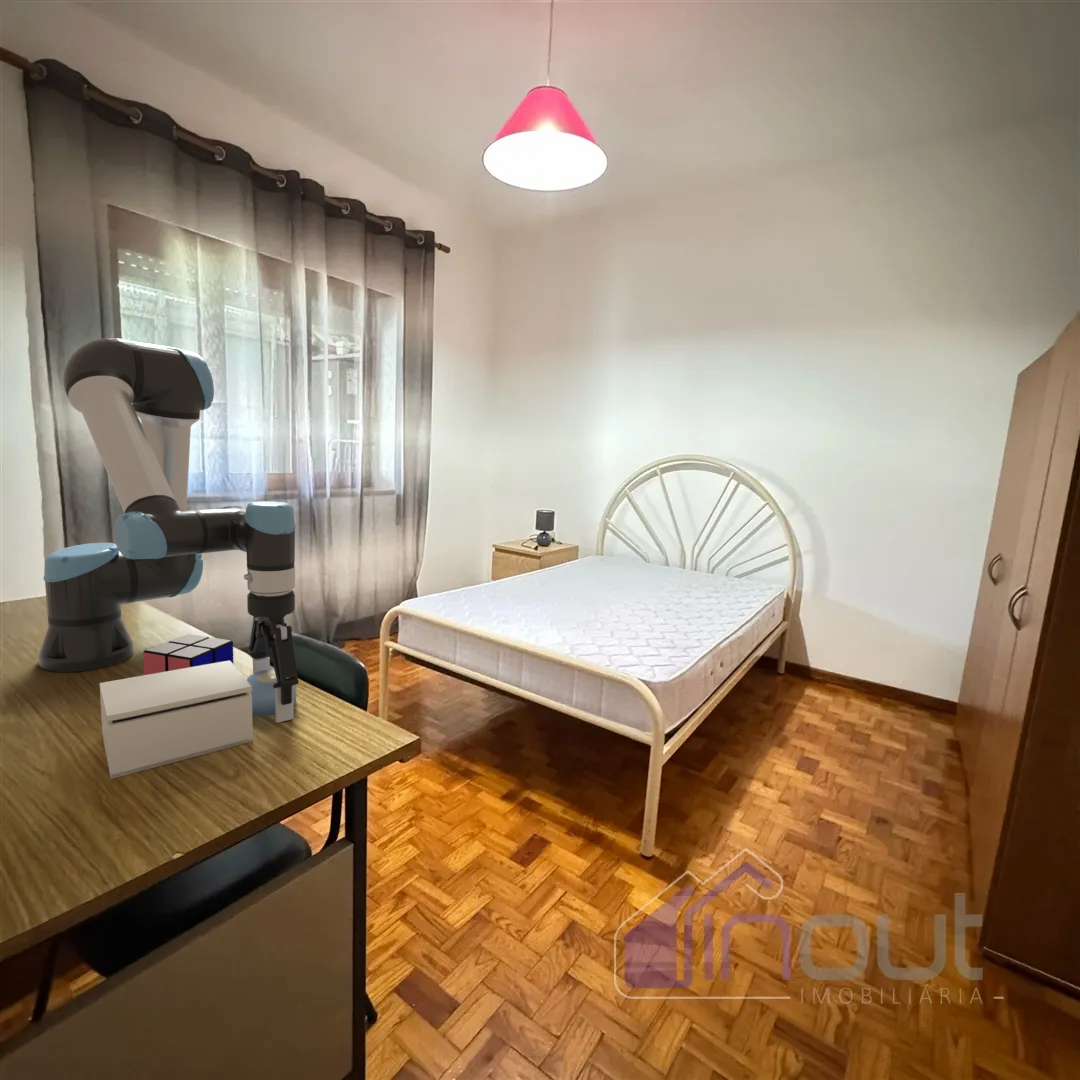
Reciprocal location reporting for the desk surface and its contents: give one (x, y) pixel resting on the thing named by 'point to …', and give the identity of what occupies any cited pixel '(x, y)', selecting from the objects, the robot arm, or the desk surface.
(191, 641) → the puzzle cube
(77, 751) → the desk surface
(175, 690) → the hinged white flap
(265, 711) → the blue domed cylinder
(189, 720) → the carton
